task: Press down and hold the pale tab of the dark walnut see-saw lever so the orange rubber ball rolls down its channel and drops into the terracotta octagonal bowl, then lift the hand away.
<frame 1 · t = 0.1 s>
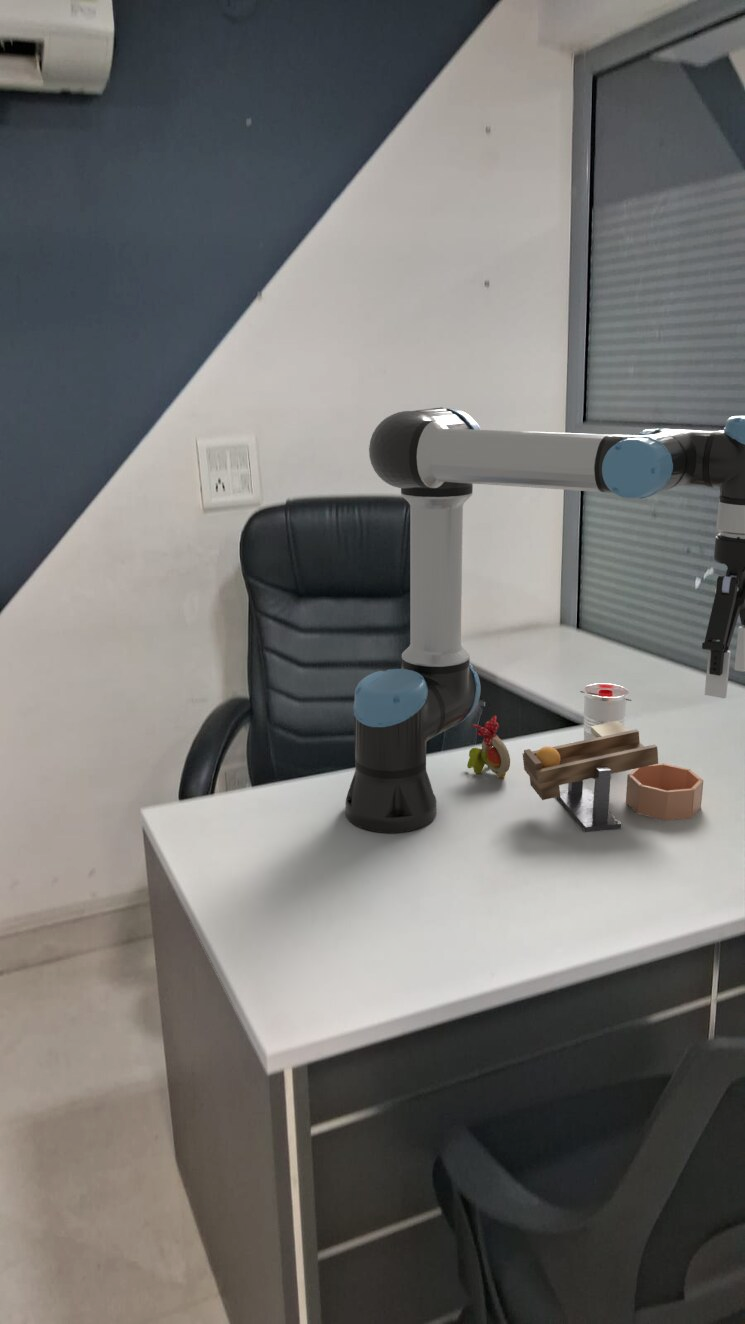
hand: (730, 683, 140), 28 cm above the table, fingers open, 13 cm apart
ball: (547, 758, 161), point 10 cm above the table, tilted 15°, touching lever
lever stand: (586, 811, 165), on the table
white ridged hollow cylinder: (602, 750, 191), on the table
terracotta octagonal bowl: (663, 804, 167), on the table
lever: (581, 754, 166), point 9 cm above the table, hinge at -8.0°, touching ball
bird rattle: (492, 774, 180), on the table
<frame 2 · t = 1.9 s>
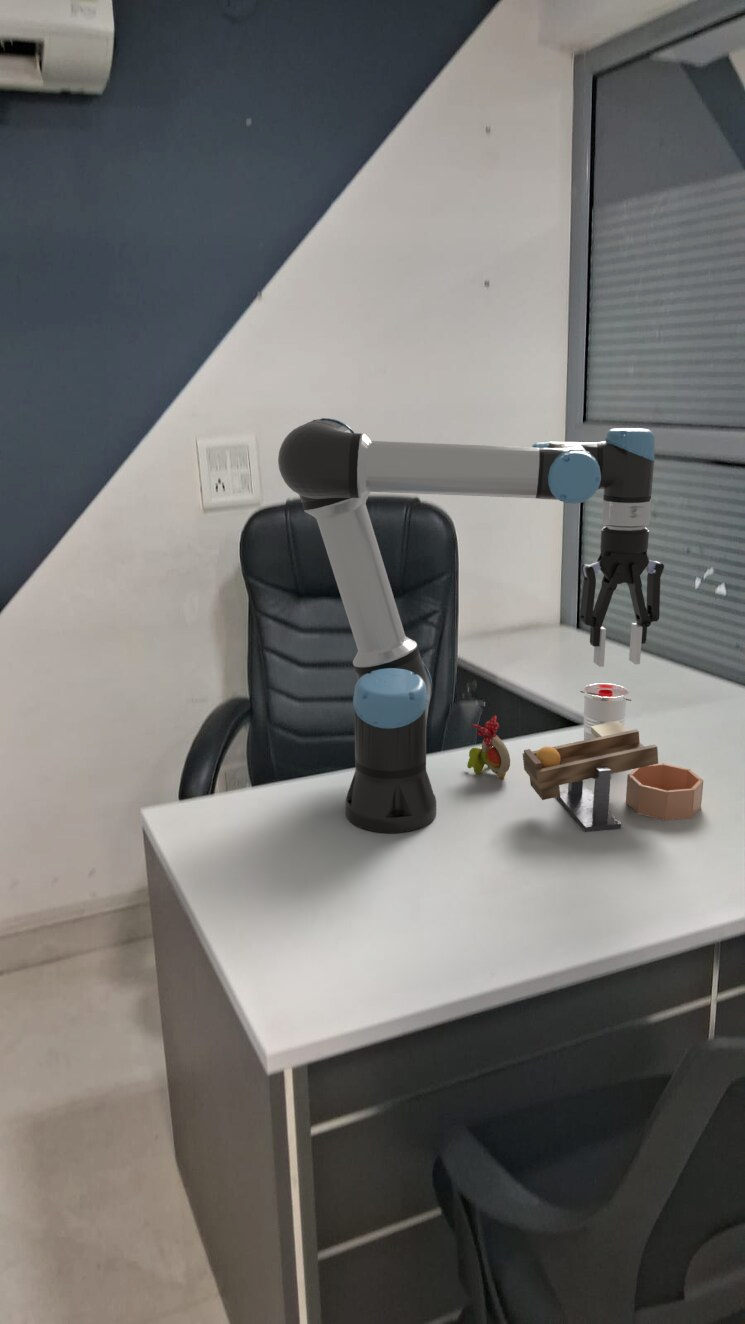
hand: (616, 662, 167), 23 cm above the table, fingers open, 6 cm apart
nothing on the table moved.
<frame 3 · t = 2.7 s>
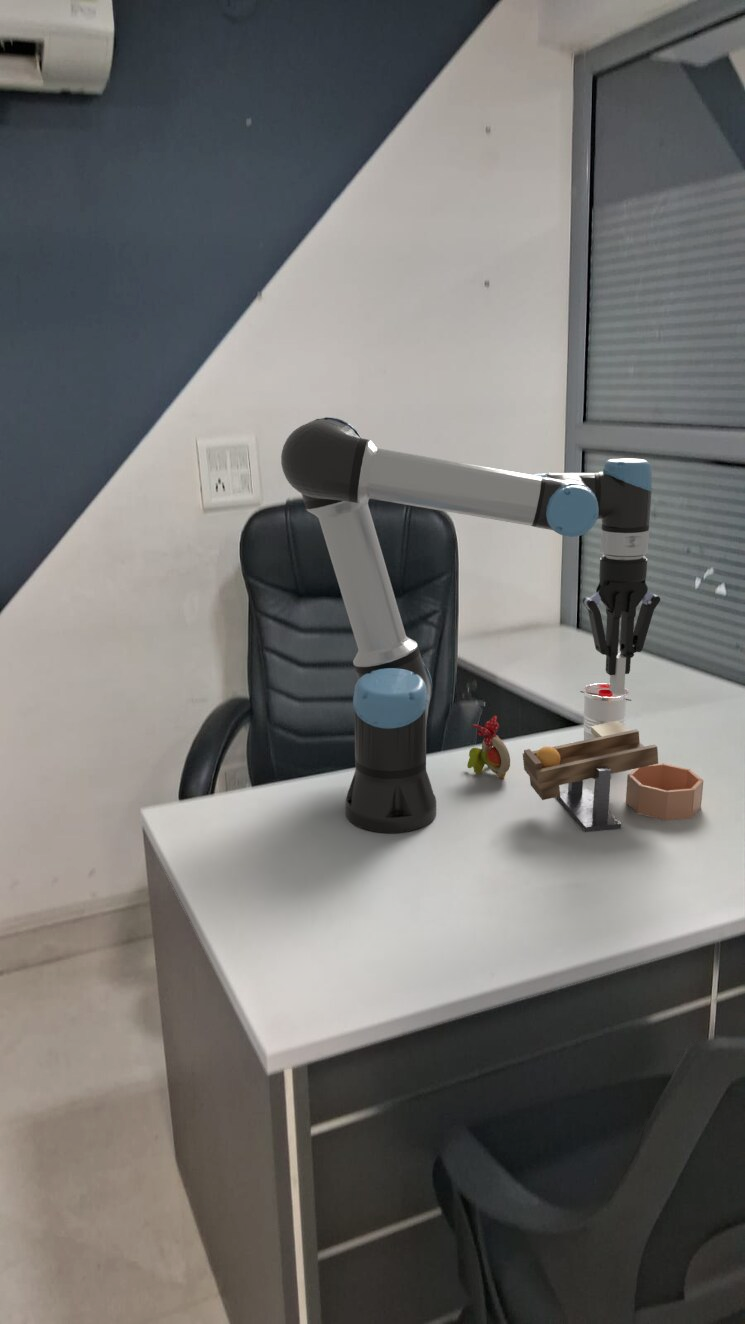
hand: (616, 692, 169), 18 cm above the table, fingers closed
nothing on the table moved.
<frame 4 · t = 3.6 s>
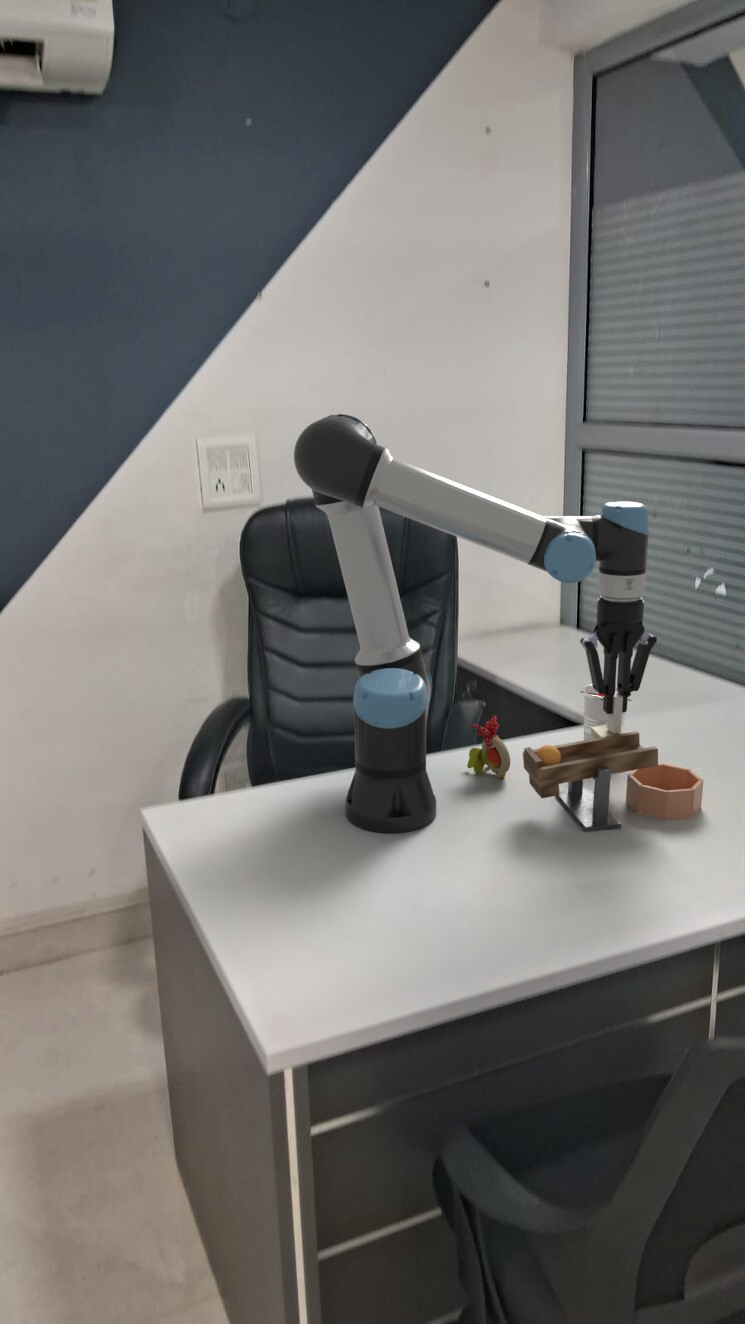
hand: (613, 730, 171), 11 cm above the table, fingers closed
lever: (581, 754, 166), point 9 cm above the table, hinge at -6.0°, touching ball, gripper
everything else where it was.
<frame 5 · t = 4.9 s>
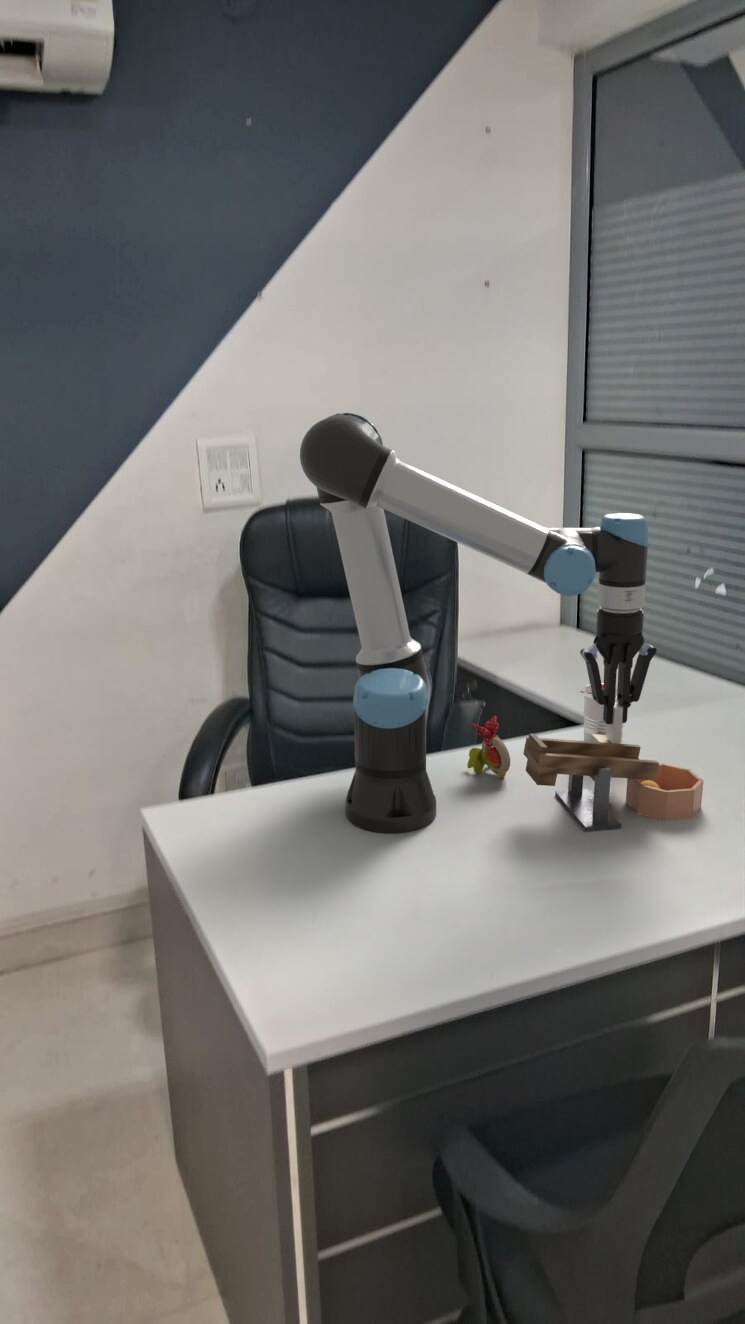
hand: (613, 740, 171), 9 cm above the table, fingers closed
ball: (648, 792, 166), point 2 cm above the table, tilted 135°, touching terracotta octagonal bowl
lever: (581, 754, 166), point 9 cm above the table, hinge at 8.5°, touching gripper
everything else where it was.
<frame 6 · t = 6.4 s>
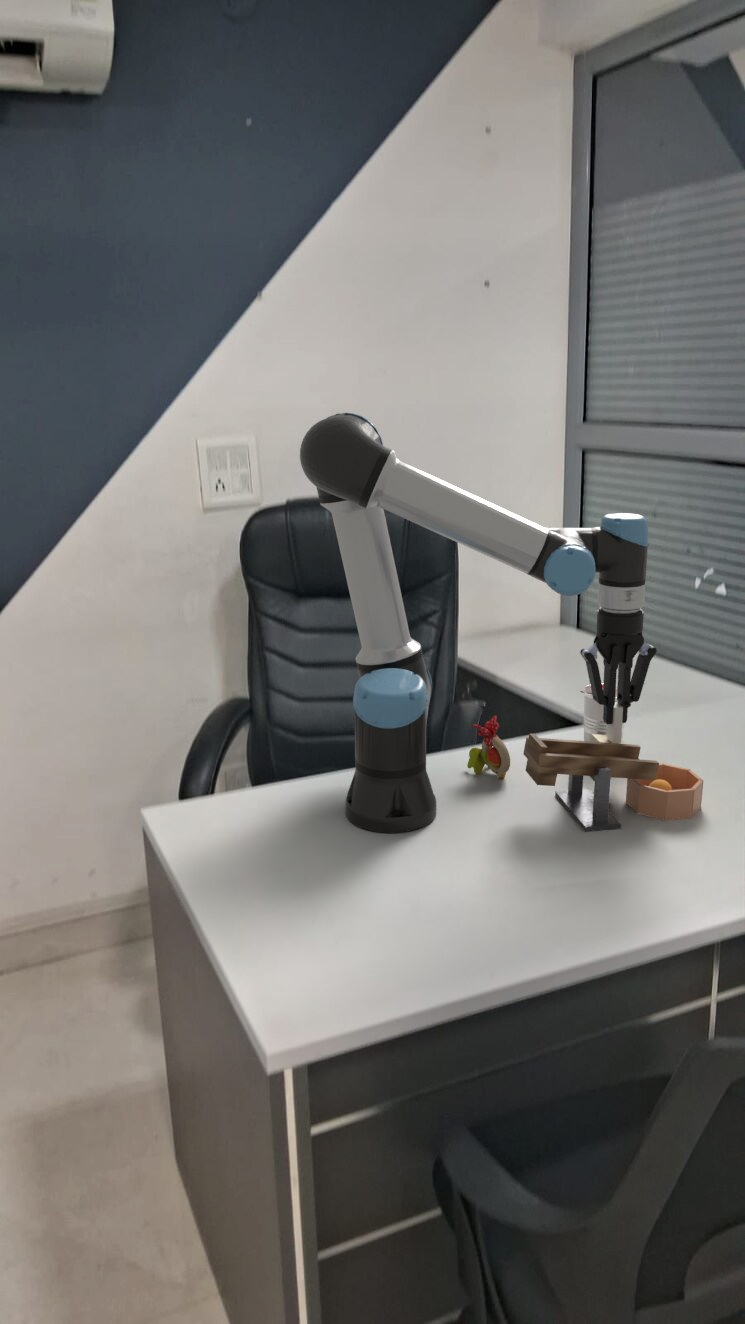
hand: (613, 740, 171), 9 cm above the table, fingers closed
ball: (660, 791, 166), point 2 cm above the table, tilted 166°, touching terracotta octagonal bowl
everything else where it was.
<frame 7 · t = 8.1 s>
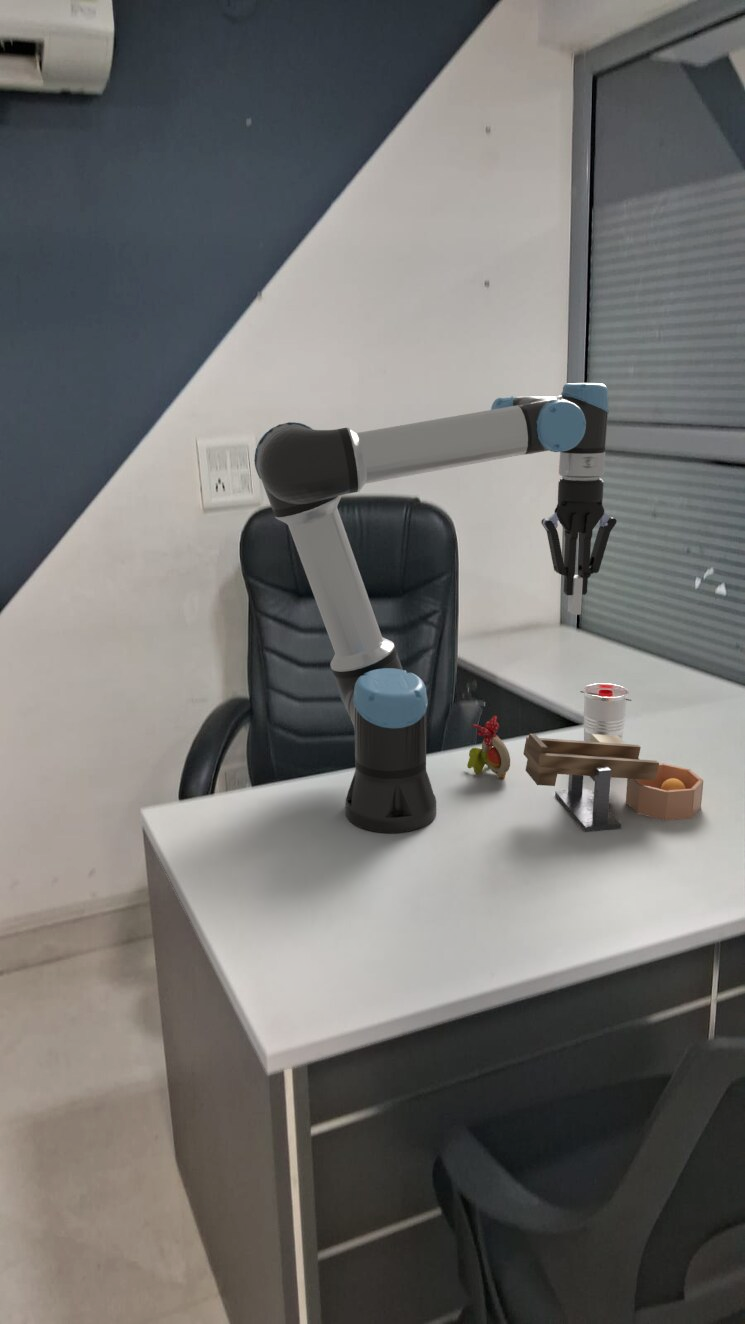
hand: (574, 612, 174), 29 cm above the table, fingers closed
ball: (673, 790, 166), point 2 cm above the table, tilted 98°, touching terracotta octagonal bowl
lever: (581, 754, 166), point 9 cm above the table, hinge at 8.5°
everything else where it was.
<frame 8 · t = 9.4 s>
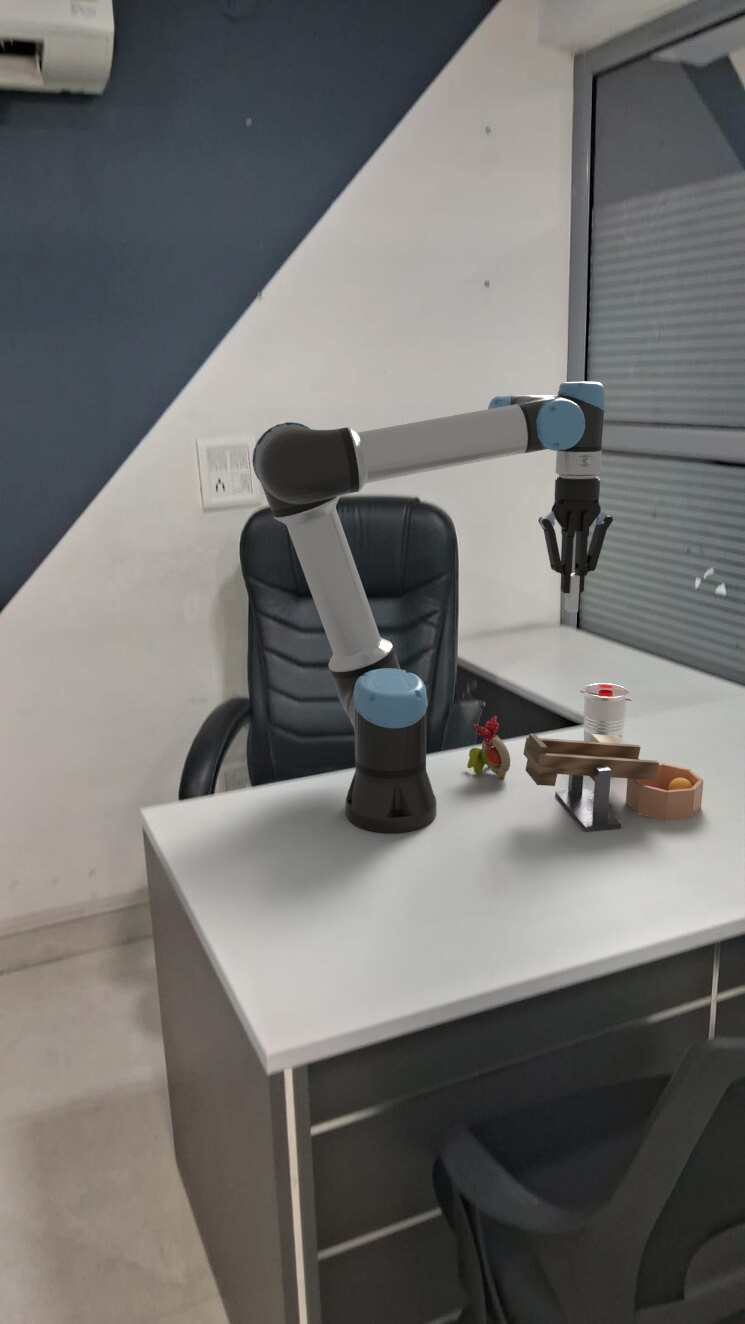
hand: (571, 610, 175), 29 cm above the table, fingers closed
ball: (680, 789, 167), point 2 cm above the table, tilted 59°, touching terracotta octagonal bowl
everything else where it was.
at the end: ball 3.0 cm off-centre on the terracotta octagonal bowl, point 2.5 cm above the terracotta octagonal bowl's base; ball moved 24.4 cm from its start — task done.
